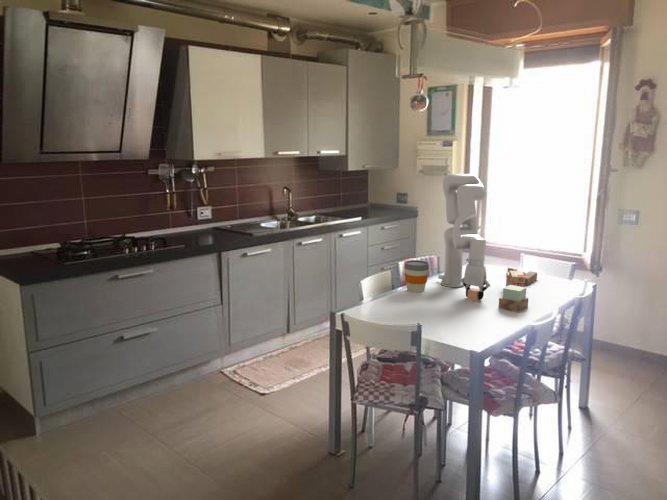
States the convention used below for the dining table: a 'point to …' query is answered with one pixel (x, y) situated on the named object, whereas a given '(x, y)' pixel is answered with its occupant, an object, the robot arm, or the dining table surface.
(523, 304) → the walnut tower base
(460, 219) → the robot arm
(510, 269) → the wooden block set
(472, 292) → the terracotta cube
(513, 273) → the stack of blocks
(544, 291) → the dining table surface
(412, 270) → the reusable coffee cup
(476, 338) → the dining table surface
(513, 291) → the sage tower block
